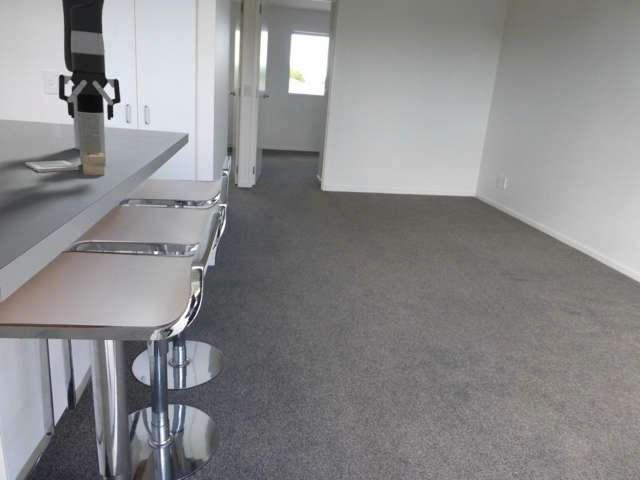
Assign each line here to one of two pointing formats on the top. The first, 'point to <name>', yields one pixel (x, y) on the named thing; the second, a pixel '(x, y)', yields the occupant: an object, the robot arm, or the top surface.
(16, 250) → the top surface
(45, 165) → the reading tile
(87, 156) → the letter cube
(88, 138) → the tall grey carton
